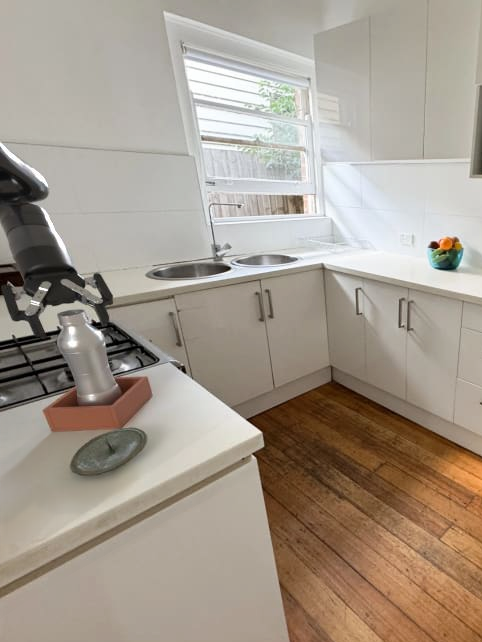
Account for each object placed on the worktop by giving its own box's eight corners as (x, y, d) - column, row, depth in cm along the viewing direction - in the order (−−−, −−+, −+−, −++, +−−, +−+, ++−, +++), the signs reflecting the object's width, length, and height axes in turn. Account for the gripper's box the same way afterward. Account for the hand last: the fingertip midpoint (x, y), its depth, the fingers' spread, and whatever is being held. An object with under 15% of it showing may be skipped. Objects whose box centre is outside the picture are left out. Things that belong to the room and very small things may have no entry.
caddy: (51, 431, 68) (42, 410, 67) (93, 397, 79) (86, 378, 77) (121, 428, 70) (113, 407, 68) (152, 395, 80) (147, 376, 79)
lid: (163, 447, 68) (159, 420, 67) (123, 475, 58) (118, 444, 57) (102, 450, 67) (98, 423, 66) (52, 478, 57) (46, 447, 57)
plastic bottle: (81, 408, 74) (44, 311, 66) (123, 396, 78) (93, 304, 70) (84, 423, 70) (45, 322, 62) (128, 410, 74) (97, 313, 66)
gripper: (-19, 248, 63) (16, 331, 60) (89, 239, 73) (123, 310, 70) (-8, 274, 68) (25, 351, 66) (91, 263, 78) (123, 329, 76)
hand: (75, 330), depth 68 cm, fingers open, 8 cm apart
